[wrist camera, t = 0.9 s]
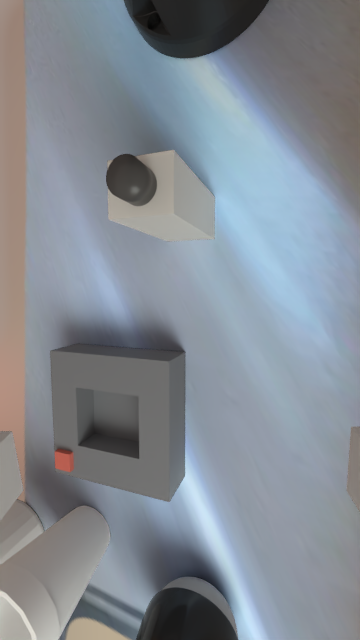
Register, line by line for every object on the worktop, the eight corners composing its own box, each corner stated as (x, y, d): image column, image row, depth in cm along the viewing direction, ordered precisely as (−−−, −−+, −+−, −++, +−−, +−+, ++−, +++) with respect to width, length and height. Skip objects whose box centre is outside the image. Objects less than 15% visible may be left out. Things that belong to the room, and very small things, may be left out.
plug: (167, 202, 32) (89, 148, 20) (215, 197, 30) (161, 134, 18) (167, 241, 32) (91, 213, 20) (214, 239, 30) (161, 206, 18)
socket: (77, 343, 37) (45, 351, 33) (185, 352, 33) (166, 362, 28) (81, 452, 39) (51, 474, 34) (184, 475, 34) (167, 506, 29)
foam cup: (127, 568, 38) (49, 699, 26) (68, 559, 41) (-25, 671, 29) (112, 495, 38) (26, 592, 26) (54, 492, 41) (-45, 577, 29)
